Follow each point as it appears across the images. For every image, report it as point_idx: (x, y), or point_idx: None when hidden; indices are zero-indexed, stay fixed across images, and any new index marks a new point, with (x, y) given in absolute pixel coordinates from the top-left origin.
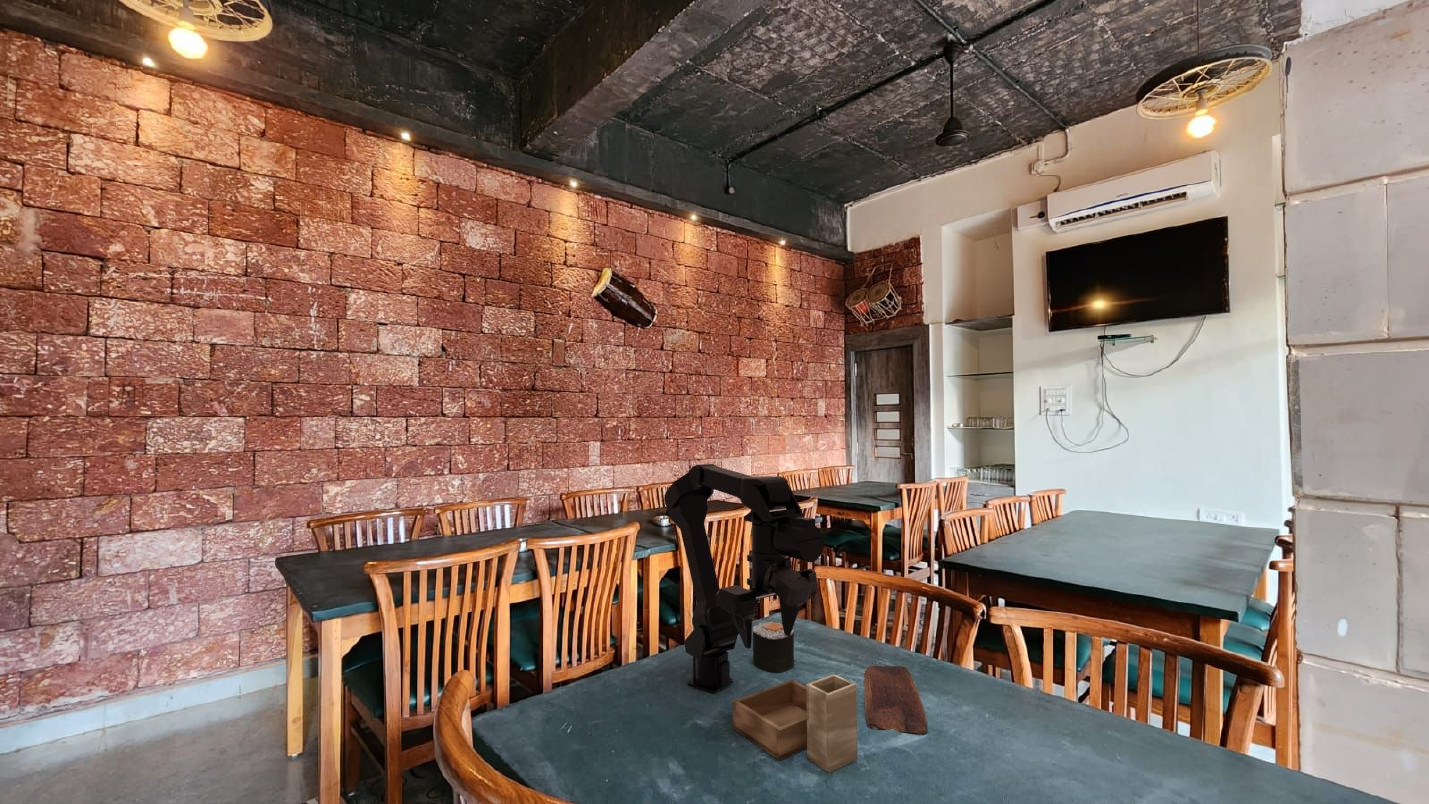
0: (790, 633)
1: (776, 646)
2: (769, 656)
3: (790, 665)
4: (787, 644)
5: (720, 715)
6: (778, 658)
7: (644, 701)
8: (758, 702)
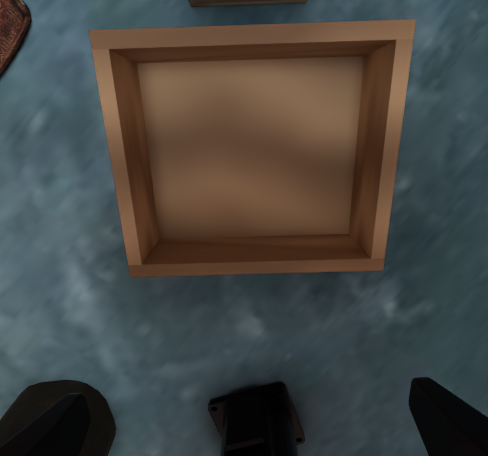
0: (60, 402)
1: None
2: None
3: (36, 390)
4: None
5: (334, 302)
6: None
7: None
8: (287, 250)
